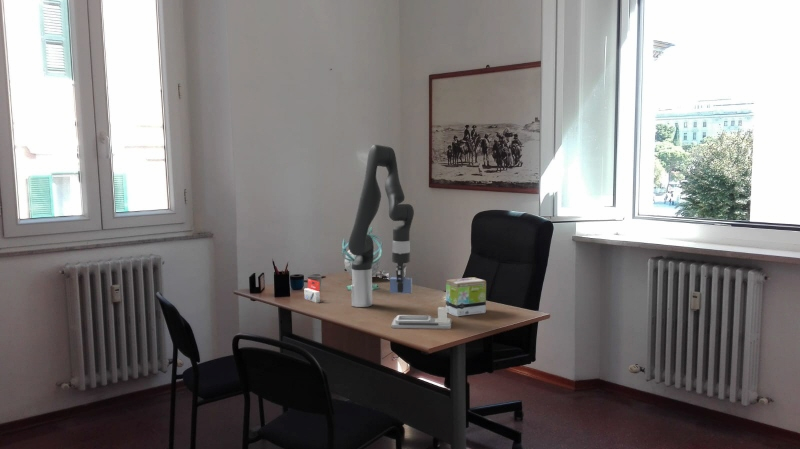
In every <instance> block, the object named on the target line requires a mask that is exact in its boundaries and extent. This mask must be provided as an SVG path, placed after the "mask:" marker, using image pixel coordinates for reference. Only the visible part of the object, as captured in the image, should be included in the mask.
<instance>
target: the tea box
mask: <svg viewBox="0 0 800 449" xmlns="http://www.w3.org/2000/svg"><path fill="white" fill-rule="evenodd" d="M445 282H446V283H445V291H446V292H445V307H447V314H449V315H452V316H455V317H460V316H461V317H462V316H469V315H479V314H485V313H486V309H487V306H486V304H487V281H486V280H485V279H481V278H477V277H464V278H452V279H446V281H445Z"/></svg>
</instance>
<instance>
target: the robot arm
mask: <svg viewBox="0 0 800 449" xmlns="http://www.w3.org/2000/svg"><path fill="white" fill-rule="evenodd" d="M397 163H398V162H397V158H396V153H395V150H394V148H393V147H391V146H385V145H380V144H373V145H371V147H370V148H369V150H368V154H367V161H366V168H365V169H366V170H365V174H364V181H363V185H362V189H361V193H360V197H359V203H358V207H357V211H356V215H355V219H354V223H353V227H352V231H351V232H350V236H349V239H348V242H349V243H348V242H347V243H348V246H347V247H348V250H350V252H351V253H352V254H353V255H356V258H355V260H354V261H353V263H352V276H351V285H352V286H351V290H350V291H351V307H357V308H367V307H370V306H373V291H372V284H373V276H372V263H373V253H374V249H375V248H374V247H375V246H374V245H375V244H374V240H373V239H372V238H371V236H370V235H368V234H369V233H368V234H367V231H368V232H369V229H370V226H371V223H372V221H373V220H374V218H375V217H376V215H377V213H378V211H379V209H380V205H381V200H382V192H381V189H380V186H379V183H378V180H377V171H378V170H377V169H378V167H382V168H386V170H387V172H388V175H387V177H386V180H385V182H384V189H385V190H384V191H385V193H386V197H387V200H388V217H389V218H390V220H392V221H393V222H399V221H400V222H402V223H401V224H400V225H398V226H395V227H393V229H392V245H391V246H392V247H391V249H392V250H391V251H392V252H391V254H392V257H391V260H392V262H393V263H394V264H397V265H396V267H395V273H396V274H395V277H397V281H396V282H397V283H398V292H403V278H406V274H407V273H406V270H407V265H406V264H409V263H410V262H411V243H410V231H411V226H412V222H413V219H414V216H415V210H414V207H413V206H412V205H411V204H410V203H403V202H404V201H405V198H406V197H405V194H404V190H403V188H402V184H401V182H400V178H399V170H398V164H397ZM399 278H401V280H399Z"/></svg>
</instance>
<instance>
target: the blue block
mask: <svg viewBox="0 0 800 449" xmlns="http://www.w3.org/2000/svg"><path fill="white" fill-rule="evenodd" d="M399 280H401V278H399ZM396 281H397V277H396V276H391V277H390V278H389V293H390V294H409V295H410V294H412V292H413V277H405V278H403V292H398V283H397V282H396Z"/></svg>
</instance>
